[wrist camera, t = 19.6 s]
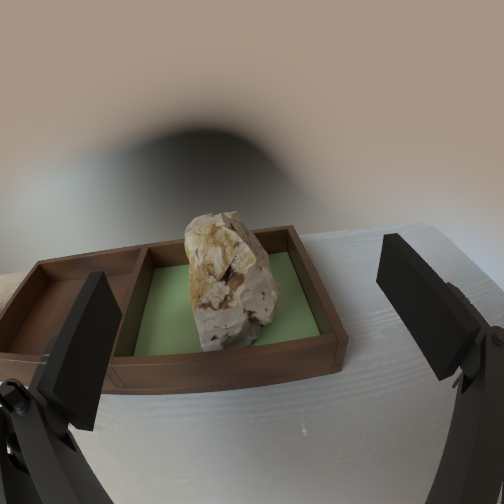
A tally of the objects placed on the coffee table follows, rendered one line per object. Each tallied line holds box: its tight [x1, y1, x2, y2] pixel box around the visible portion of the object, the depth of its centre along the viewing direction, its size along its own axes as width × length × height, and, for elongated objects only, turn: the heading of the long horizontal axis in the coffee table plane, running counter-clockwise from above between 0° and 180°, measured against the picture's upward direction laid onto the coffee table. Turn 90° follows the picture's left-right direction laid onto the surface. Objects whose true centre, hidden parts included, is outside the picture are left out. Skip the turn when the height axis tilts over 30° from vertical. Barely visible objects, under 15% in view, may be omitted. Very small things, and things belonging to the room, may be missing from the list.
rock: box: [184, 211, 281, 352], centre depth 24 cm, size 12×7×10 cm, turn 0°
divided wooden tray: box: [0, 225, 349, 395], centre depth 25 cm, size 32×17×4 cm, turn 96°
